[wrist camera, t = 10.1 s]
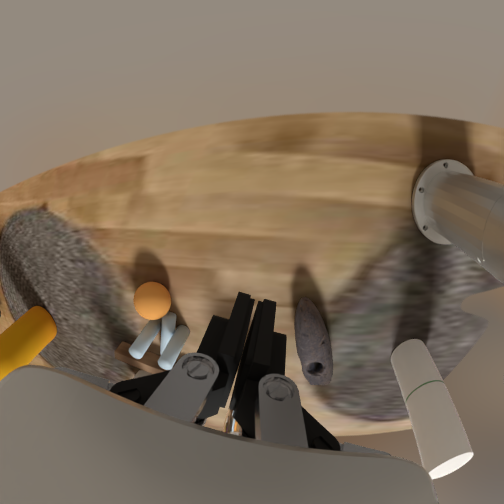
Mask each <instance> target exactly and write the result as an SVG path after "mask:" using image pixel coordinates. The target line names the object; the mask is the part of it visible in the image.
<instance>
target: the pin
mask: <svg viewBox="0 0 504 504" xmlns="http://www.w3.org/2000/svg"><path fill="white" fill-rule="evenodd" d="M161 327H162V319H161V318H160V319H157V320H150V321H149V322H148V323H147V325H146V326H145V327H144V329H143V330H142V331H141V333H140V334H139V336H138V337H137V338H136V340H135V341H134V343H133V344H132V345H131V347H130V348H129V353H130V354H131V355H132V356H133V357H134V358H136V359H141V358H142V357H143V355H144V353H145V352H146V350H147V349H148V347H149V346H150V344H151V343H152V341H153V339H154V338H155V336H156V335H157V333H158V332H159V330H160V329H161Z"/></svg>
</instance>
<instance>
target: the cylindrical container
mask: <svg viewBox="0 0 504 504" xmlns="http://www.w3.org/2000/svg"><path fill="white" fill-rule="evenodd" d="M391 363H392V366H393V369H394V371H395V374H396V377H397V380H398V383H399V386H400V389H401V392H402V395H403V398H404V401H405V404H406V407H407V411H408V414H409V417H410V421H411V424H412V427H413V431H414V434H415V437H416V441H417V445H418V449H419V453H420V457H421V461H422V465H423V468H425V469H426V470H427V472H428V473H429V475H430V477H431V479H435V478H439V477H442V476H444V475H447V474H449V473H451V472H453V471H455V470H457V469H458V468H460V467H461V466H462V465H464V464H465V463H467V462H468V461H469V460H470V459H471V458H472V456H473V451H472V448H471V446H470V443H469V440H468V437H467V435H466V432H465V430H464V427H463V425H462V422H461V420H460V417H459V415H458V413H457V410H456V408H455V406H454V403H453V401H452V399H451V397H450V394H449V393H448V390H447V388H446V386H445V384H444V382H443V380H442V377H441V375H440V373H439V371H438V369H437V367H436V365H435V363H434V361H433V359H432V357H431V355H430V354H429V352H428V350H427V348H426V346H425V344H424V342H423V341H421V340H419V339H410V340H407V341H405V342H403V343H401V344H400V345H399V346H398V347H396V349H395V350H394V351H393V353H392V355H391Z"/></svg>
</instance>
